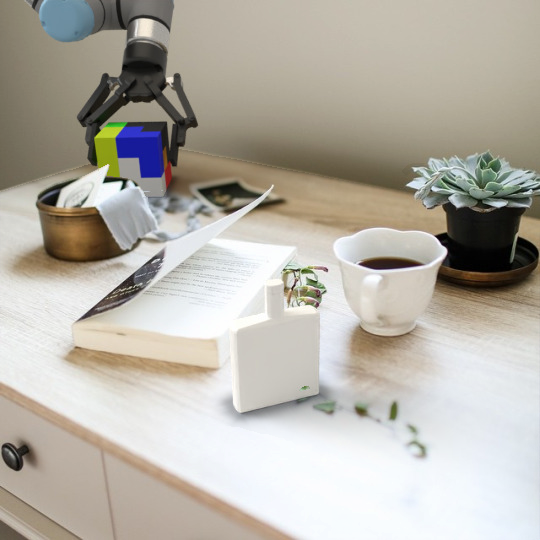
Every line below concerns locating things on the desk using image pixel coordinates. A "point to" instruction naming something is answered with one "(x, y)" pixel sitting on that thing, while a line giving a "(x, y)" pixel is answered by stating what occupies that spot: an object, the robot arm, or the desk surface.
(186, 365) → the desk surface
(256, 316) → the perfume bottle
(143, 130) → the puzzle toy
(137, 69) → the robot arm
